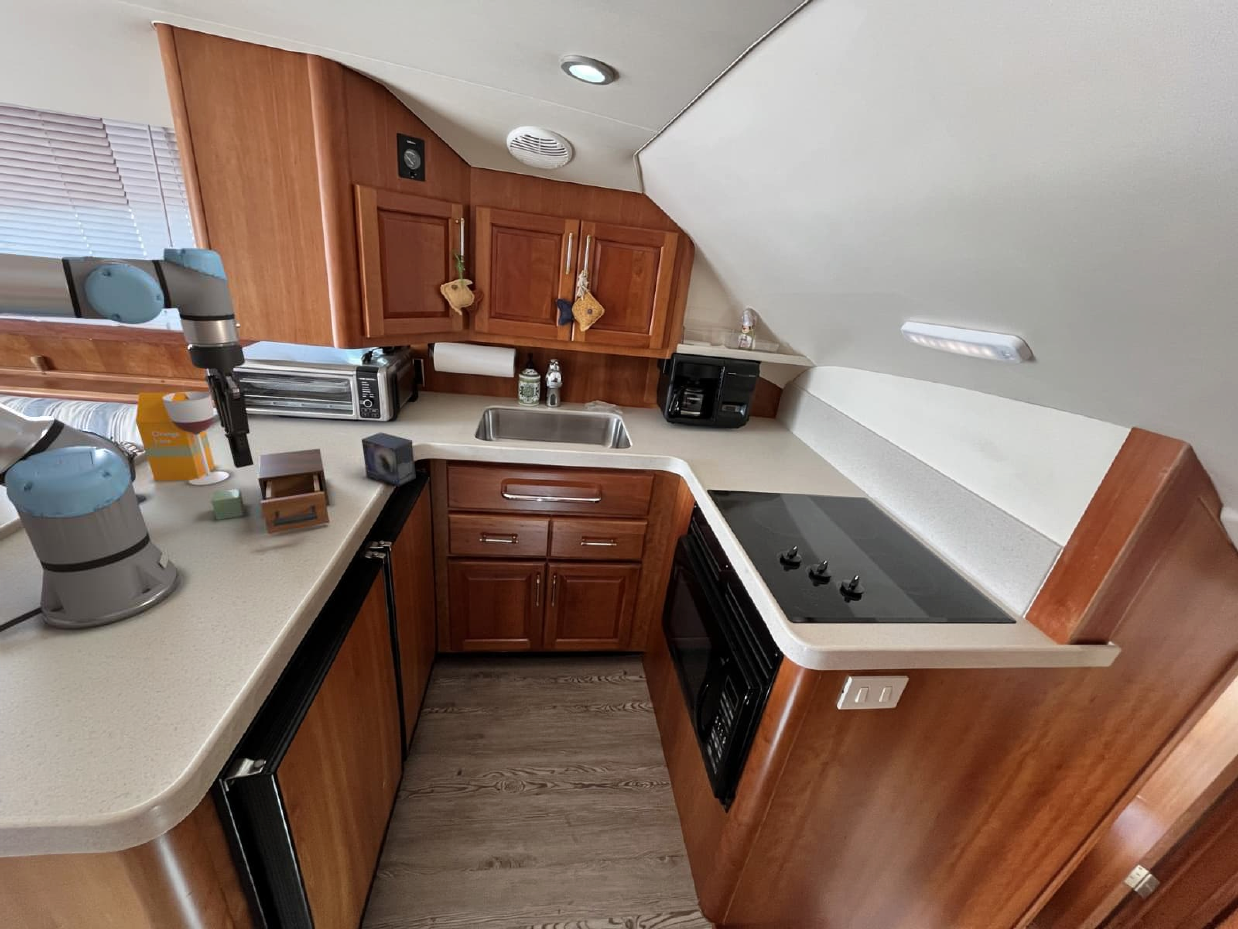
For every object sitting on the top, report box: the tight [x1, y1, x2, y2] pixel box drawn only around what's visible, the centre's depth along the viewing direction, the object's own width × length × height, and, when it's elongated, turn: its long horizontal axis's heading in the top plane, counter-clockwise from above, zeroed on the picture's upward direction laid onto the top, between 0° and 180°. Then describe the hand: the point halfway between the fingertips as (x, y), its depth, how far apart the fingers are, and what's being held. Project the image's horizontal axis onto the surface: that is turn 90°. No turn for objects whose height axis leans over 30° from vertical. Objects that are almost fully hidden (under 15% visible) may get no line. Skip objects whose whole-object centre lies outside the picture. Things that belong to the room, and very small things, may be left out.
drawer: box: [260, 474, 330, 535], centre depth 100 cm, size 17×10×7 cm, turn 32°
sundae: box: [109, 436, 147, 504], centre depth 101 cm, size 7×7×15 cm
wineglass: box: [162, 391, 230, 486], centre depth 112 cm, size 8×9×20 cm
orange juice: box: [135, 391, 216, 482], centre depth 113 cm, size 8×9×20 cm
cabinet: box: [257, 448, 330, 507], centre depth 110 cm, size 14×12×9 cm
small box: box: [361, 431, 417, 487], centre depth 122 cm, size 11×6×10 cm, turn 68°
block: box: [211, 488, 245, 521], centre depth 102 cm, size 4×4×4 cm
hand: (244, 465), depth 96 cm, fingers closed
